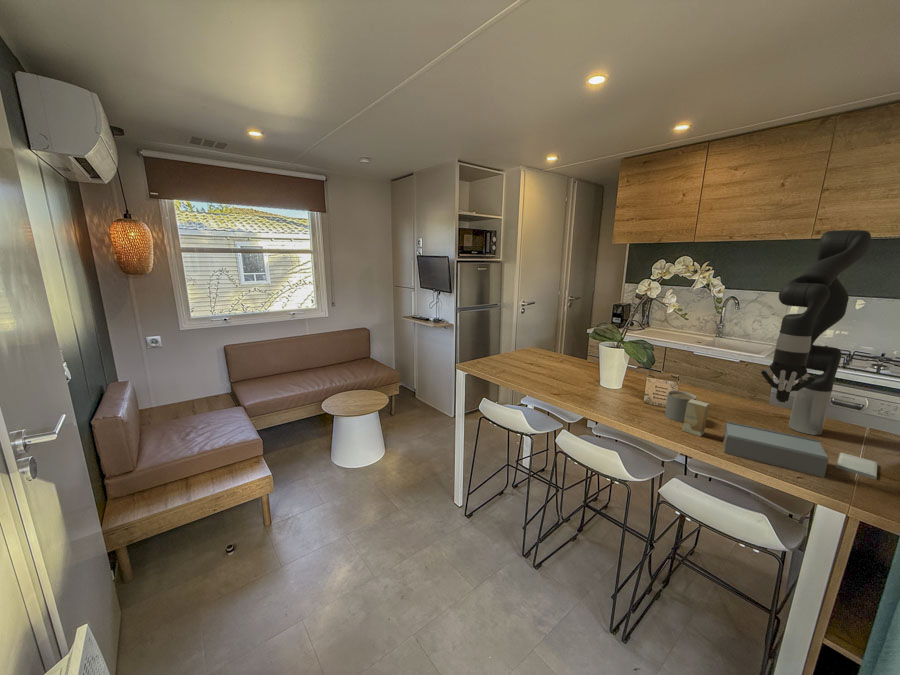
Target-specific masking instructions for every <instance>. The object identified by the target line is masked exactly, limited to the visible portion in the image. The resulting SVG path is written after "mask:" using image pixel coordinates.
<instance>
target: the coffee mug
mask: <svg viewBox="0 0 900 675" xmlns="http://www.w3.org/2000/svg"><path fill="white" fill-rule="evenodd" d="M690 399H693V400H697V396H696V395H694V394H692V393H690V392H687V391H681V390H669V391H668V392H667V396H666V404H665V409H664V417H665V418H667V419H669V420H672V421H673V420H674V422H677V421H678V422H677V423H683V422H684V419H685V413H686V408H687V403H688V401H689V400H690Z"/></svg>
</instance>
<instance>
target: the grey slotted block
mask: <svg viewBox="0 0 900 675" xmlns="http://www.w3.org/2000/svg"><path fill="white" fill-rule="evenodd" d="M722 437H723V438H722V442H723V443H722V444H723V453H724V454H726V455H731V456H735V457H739V458H743V459H747V460H751V461H755V462H758V463H763V464H768V465H771V466H775V467H779V468H784V469H787V470H792V471H794V472H801V473H804V474H808V475H813V476H816V477H819V478H825V475H826V472H827V467H828V462H829V458H828V459H824V458H819V457H815V456H810V455H806V454H801V453H797V452H792V451H788V450H784V449H779V448H775V447H770V446H766V445H761V444H757V443H753V442H748V441H744V440H739V439H735V438H730V437H728V434H727V425H726V424H725V426H724V431H723V436H722Z"/></svg>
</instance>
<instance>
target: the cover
mask: <svg viewBox="0 0 900 675" xmlns="http://www.w3.org/2000/svg"><path fill="white" fill-rule="evenodd" d="M725 425H727V434H728V437H730V438H735V439H739V440H744V441H748V442H753V443H757V444H761V445H766V446H770V447H775V448H779V449H784V450H788V451H792V452H797V453H801V454H806V455H810V456H815V457H819V458H824V459H828V460H829V456H828V454H827V453H826V451H825V449H824V448H823V446H822V445H821V443H820V440H819V439H815V438H810V437H805V436H801V435H796V434H790V433H786V432H782V431H775V430H770V429H767V428H762V427H758V426H757V427H756V426H752V425H746V424H741V423H738V422H737V423H736V422H732V421H726V423H725Z"/></svg>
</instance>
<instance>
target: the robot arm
mask: <svg viewBox="0 0 900 675" xmlns="http://www.w3.org/2000/svg"><path fill="white" fill-rule="evenodd" d="M871 241H872V235H871V233H870V231H868V230H860V229H851V230H850V229H848V230H847V229H845V230H828V231H825V232H824V233H823V234H822V235H821V236H820V239H819V242H818V247H817V253H816V254H817V255H816V262H814V263H813V264H812V265H810V266H809V267H808V268H807V270H805V271H804V272H803V273H802V275H798V276H797V277H795V278H793V279H792V280H790V281H788V282H787V283H785V284H784V285H783V286H782V287H781V289H780V291H779V293H778V301H779V302H780V303H781V305H784V306H787V307H797V308H798V307H799V308H800V307H801V308H806V310H804V312H802V313H789V314H786V315H784V316H783V317H782V320H781V325H780V329H779V334H778V336H777V340H776V344H775V349H774V354H773V360H772V363H771V364H770V365H769V367H767V368H762V369H760V374H761V375H762V377H763V378H764V379H765V380H766V382H767V383H768V384H769V385H770V387H771V388H773V389H776V394H775V399H776V401H778V402H779V403H784V404H785V403H786V402H788V401H789V400H790V394H791V392H795V395H794V399H793V405H792V408H791V412H790V413H791V414H790V417H789V420H788V421H789V422H788V428H790V429H792V430H793V431H796V432H799V433H802V434H807V435H813V436H819V435H821V434H822V433H823V430H824V425H825V422H826V417H827V413H828V409H829V405H830V400H831V396H832V393H833V389H834V388H833V387H834V382H835V378H836V374H837V372H838V368H839V366H840V362H841V359H842V351H841V349H839V348H838V347H833V346H832V347H831V346H823V345H816V344H814V343H815V342H816V340H817V339H818V338H819V337H820V336H821V335H822V334H823V333H824V332H825V331H827V330H829V329H831V327H833V326H834V325H835V324H837V323H838V322H840V321H841V320H842V319H843V318H844V316H845V314H846V312H847V308H848V307H847V306H848V303H849V298H850V296H849V293H848V291H847V290H846V288H845V287H844V285H843V284H842V282H841V281H840V279H839V278H838V276H839V275H840V274H841V273H843V272H844V271H845V270H846V269H848V268H850V267H851V266H852V265H854V264H855V263H857V262H858V261H859V260H861V259H862V258H863V257H864V256H865V255H866V253H867V252H868V250H869V247H870V244H871ZM808 370H812V371H819V372H823V373H820V374H817V375H811V374H809V373H808ZM771 374H773V375H774V376H775V378H776V379H777V383H776V382H774V380H773V378H772V377H771ZM796 381H797V383H795V382H796ZM794 383H795V384H794Z"/></svg>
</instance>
